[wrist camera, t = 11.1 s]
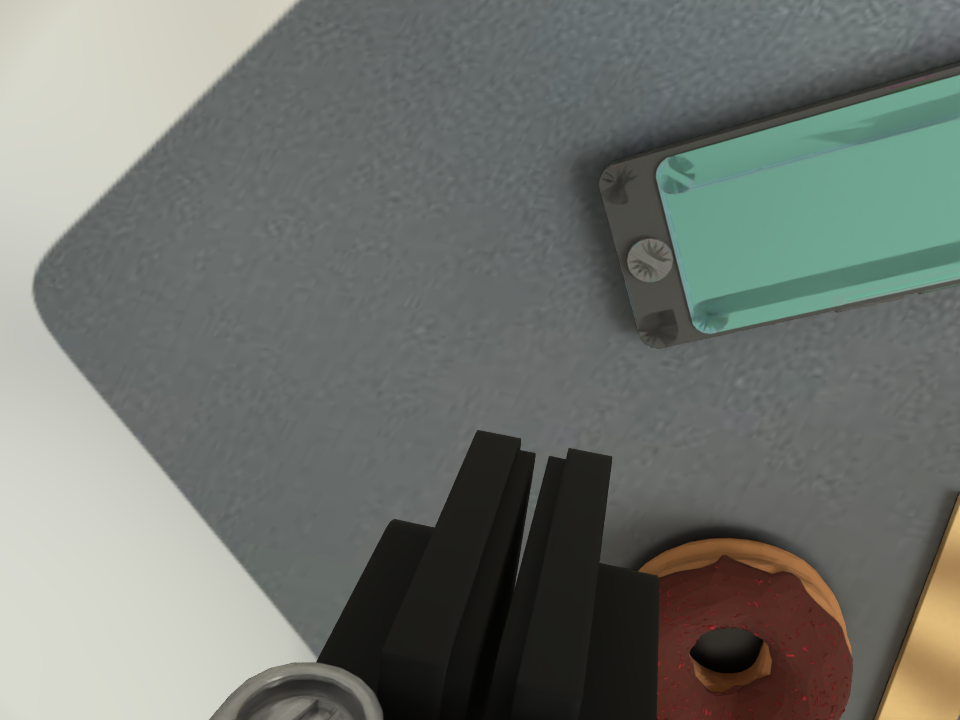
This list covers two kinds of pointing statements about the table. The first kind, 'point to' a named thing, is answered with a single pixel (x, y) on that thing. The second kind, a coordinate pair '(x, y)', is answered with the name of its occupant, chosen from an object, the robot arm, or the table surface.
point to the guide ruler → (931, 643)
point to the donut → (762, 611)
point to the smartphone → (793, 212)
